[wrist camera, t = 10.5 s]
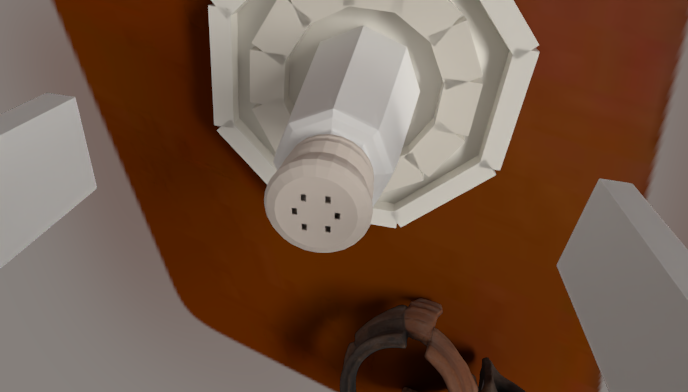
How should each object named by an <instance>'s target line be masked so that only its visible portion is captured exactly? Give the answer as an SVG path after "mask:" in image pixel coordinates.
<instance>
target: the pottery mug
mask: <svg viewBox="0 0 688 392" xmlns="http://www.w3.org/2000/svg"><path fill="white" fill-rule="evenodd" d="M442 313H443V311H442V306H441V305H440V304H438V303H436V302H433V301H430V300H427V299H423V298H419V299H417V300H415V301H411V303H410V305H409V307H407V306H405V305H398V306H396V307H394V308H392V309H389V310H387V311H385V312H383V313H381V314H379V315H378V316H376V317H374V318H373V319H371V320H370V321H368V322H367V323H366V324H365V325H364V326H363V327H361V328H360V329H359V330H358V331H357V332H356V334H355V341H354V342H352V343H350V344H349V346H348V349H347V351H346V354H345V359H344V365H343V370H342V373H341V378H340V392H356V375H357V371H358V368H359V366H360V364H361V363H362V362H363V360H364V359H365V358H367V357H368V356H369V355H370V354H372V353H373V352H375V351H377V350H380V349H385V348H406V345H407V338H408V337H410V338H412V339H415V340H418V341H420V342H422V343H423V344H424V345H426V346H427V349H426V352H425V359H427V360H428V361H429V362H430V363H431V364H432V365H433V367H434V368H435V369H436V370H437V371H438V372H439V373H440V375H441V376H442V378H443V380H444V382H445V384H446V386H447V389H448V392H525V391H524V390H523V389H521V388H520V387H519V386H517V385H516V384H514V383H513V382H511V381H509V380H508V379H506V378H505V377H503V376H502V375H501V374H500V373H499V372H498V371H497V370H496V368H495V367H494V365H493V364H492V362H491V361H490V360H489V358H483V359H482V368H481V371H480V380H479V387H478V386H477V382H476V377H475V376H474V375H473V374H471V372H470V370H469V367H468V365H467V364H466V362H465V361H464V360H463V358H462V357H461V355H460V354H459V353H458V351H457V349H456V348H455V346H454V345H453V344H452V343H451V341H450V340H449V339H448V338H447V337H446V336H445V335H444V334H443V333H442V332H440V331H439V330H438V329H436V328H435V324H436V321H437V318H438V317H439V316H440V315H441V314H442ZM402 392H417V391H415V390H412V389H410V388H408V387H404V388H403V390H402Z"/></svg>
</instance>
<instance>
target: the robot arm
mask: <svg viewBox="0 0 688 392" xmlns="http://www.w3.org/2000/svg"><path fill="white" fill-rule="evenodd" d="M96 188H97V185H96V181H95V177H94V173H93V168H92V165H91V160H90V156H89V152H88V148H87V143H86V140H85V135H84V131H83V127H82V123H81V118H80V114H79V110H78V106H77V102H76V98H75V97H72V96H66V95H59V94H52V93H45V94H43V95H41V96H39V97H36V98H34V99H32V100H30V101H28V102H25V103H24V104H21V105H19V106H17V107H15V108H12V109H10V110H8V111H6V112H4V113H1V114H0V269H1V268H2V267H3V266H4V265H5V264H6V263H8V262H9V261H10V260H11V259H13V258H14V257H15V256H16V255H17V254H19V253H20V252H21V251H22V250H23V249H25V248H26V247H27V246H28V245H29V244H31V243H32V242H33V241H34V240H35V239H37V238H38V237H39V236H40V235H41V234H42V233H44V232H45V231H46V230H47V229H49V228H50V227H51V226H52V225H53V224H55V223H56V222H57V221H58V220H59V219H60V218H62V217H63V216H64V215H66V214H67V213H68V212H69V211H70V210H71V209H72V208H74V207H75V206H76V205H78V204H79V203H80V202H81V201H82V200H83V199H85V198H86V197H87V196H88V195H89V194H91V193H92V192H93V191H94V190H96ZM557 268H558V270H559V273H560V275H561V277H562V280H563V282H564V285H565V287H566V289H567V292H568V294H569V297H570V299H571V301H572V304H573V306H574V309H575V311H576V313H577V316H578V318H579V321H580V323H581V326H582V328H583V330H584V333H585V335H586V338H587V340H588V342H589V345H590V347H591V350H592V352H593V354H594V357H595V359H596V362H597V364H598V367H599V369H600V371H601V374H602V376H603V379H604V381H605V383H606V386H607V388H608V390H609V392H688V250H687V248H686V247H685V246H684V245H683V244H682V242H681V241H680V240H679V239H678V238H677V236H676V235H675V234H674V233H673V232H672V230H671V229H670V228H669V227H668V226H667V224H666V223H665V222H664V221H663V220H662V218H661V217H660V216H659V215H658V214H657V213H656V211H655V210H654V209H653V208H652V207H651V205H650V204H649V203H648V202H647V201H646V199H645V198H644V197H643V196H642V195H641V193H640V192H639V191H638V190H637V189H636V187H635V186H634V185H633V184H632V183H625V182H619V181H612V180H606V179H600V178H599V180H598V182H597V184H596V186H595V188H594V190H593V192H592V194H591V196H590V198H589V200H588V202H587V204H586V206H585V209H584V211H583V213H582V215H581V217H580V219H579V221H578V223H577V225H576V227H575V229H574V231H573V233H572V235H571V237H570V239H569V241H568V243H567V245H566V247H565V249H564V251H563V253H562V255H561V257H560V259H559V261H558V264H557Z"/></svg>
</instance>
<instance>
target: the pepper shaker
mask: <svg viewBox="0 0 688 392" xmlns="http://www.w3.org/2000/svg"><path fill="white" fill-rule="evenodd" d="M419 93H420V89H419V86H418V82H417V79H416V76H415V72H414V69H413V66H412V62H411V59H410V56H409V52H408V49H407V47H406V46H404V45H402V44H400V43H398V42H396V41H394V40H392V39H390V38H388V37H386V36H384V35H383V34H381V33H379V32H377V31H375V30H373V29H371V28H369V27H367V26H365V25H363V26H360V27H358V28H355V29H352V30H350V31H347V32H345V33H342V34H339V35H337V36H334V37H331V38H329V39H326V40H324V41H321V42H320V43H319V46H318V48H317V51H316V53H315V56H314V58H313V61H312V63H311V66H310V68H309V71H308V73H307V76H306V78H305V81H304V83H303V85H302V88H301V90H300V93H299V95H298V98H297V100H296V103H295V105H294V108H293V110H292V113H291V116H290V118H289V121H288V123H287V126H286V128H285V131H284V133H283V136H282V138H281V141H280V143H279V146H278V148H277V151H276V154H275V157H274V161H273V163H274V165H275V167H276V169H277V171H276V173H275V174H274V175H273V176H272V177H271V179H270V180H269V182H268V185H267V187H266V190H265V197H264V205H265V210H266V214H267V217H268V219H269V220H270V222H271V224H272V226H273V227H274V229H275V230H276V231H277V232H278V233H279V234H280V235H281V236H282V237H283V238H284V239H286V240H287V241H288V242H290V243H291V244H293V245H295V246H297V247H299V248H301V249H304V250H308V251H312V252H322V253H330V252H335V251H339V250H344V249H346V248H348V247H350V246H352V245H354V244H355V243H357V242H358V241H359V240H360V239H361V238H362V237H363V236H364V235H365V233H366V231H367V230H368V228H369V226H370V223H371V219H372V215H373V207H374V205H375V203H376V202H377V200H378V199H379V197H380V195H381V194H382V192H383V190H384V188H385V187H386V185H387V183H388V182H389V180H390V178H391V176H392V174H393V172H394V170H395V168H396V166H397V163H398V161H399V158H400V154H401V151H402V148H403V145H404V142H405V138H406V135H407V132H408V129H409V125H410V122H411V119H412V116H413V113H414V109H415V106H416V103H417V100H418V97H419Z"/></svg>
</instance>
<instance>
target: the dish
mask: <svg viewBox="0 0 688 392" xmlns="http://www.w3.org/2000/svg"><path fill="white" fill-rule="evenodd" d="M211 1H212V2H213V3H214V4H211V5H208V16H209V36H210V55H211V75H212V94H213V113H214V125H215V126H221V127H219V128H218V129H217V130H216V131H217V132H218V133H219V134H220V135H221V136H222V137H223V138H224V139H225V140H226V141H227V142H228V143H229V144H230V145H231V147H232V148H233V149H234V150H235V151H236V152H237V153H238V154H239V155H240V156H241V157H242V158H243V159H244V160H245V162H246V163H247V164H248V165H249V166H250V167H251V168H252V169H253V170H254V171H255V172H256V173H257V174H258V175H259V176H260V178H261V179H262V180H263V181H264V182H265V183H266V184H267V185H268V182H269V180H270V179H271V177H272V176H273V175H274V174H275V173H276V171H277V169H276V167H275V165H274V163H273V161H274V157H275V154H276V151H277V148H278V146H279V143H280V141H281V138H282V136H283V133H284V131H285V128H286V126H287V123H288V121H289V118H290V116H291V113H292V110H293V108H294V105H295V103H296V100H297V98H298V95H299V93H300V90H301V88H302V85H303V83H304V81H305V78H306V76H307V73H308V71H309V68H310V66H311V63H312V61H313V58H314V56H315V53H316V51H317V48H318V46H319V43H320V42H321V41H324V40H326V39H329V38H331V37H334V36H337V35H339V34H342V33H345V32H347V31H350V30H352V29H355V28H358V27H360V26H363V25H365V26H367V27H369V28H371V29H373V30H375V31H377V32H379V33H381V34H383V35H384V36H386V37H388V38H390V39H392V40H394V41H396V42H398V43H400V44H402V45H404V46H406V47H407V49H408V52H409V56H410V59H411V62H412V66H413V69H414V72H415V76H416V79H417V82H418V86H419V89H420V93H419V97H418V100H417V103H416V106H415V109H414V113H413V116H412V119H411V122H410V125H409V129H408V132H407V135H406V138H405V142H404V145H403V148H402V151H401V154H400V158H399V161H398V163H397V166H396V168H395V170H394V172H393V174H392V176H391V178H390V180H389V182H388V183H387V185H386V187H385V188H384V190H383V192H382V194H381V195H380V197H379V199H378V200H377V202H376V203H375V205H374V207H373V215H372V219H371V223H370V224H374V225H380V226H386V227H391V228H396V225H397V223H398V225H399V226H400V227H403V226H404V225H406V224H408V223H410V222H412V221H413V220H415V219H417V218H419V217H421V216H422V215H424V214H426V213H428V212H430V211H432V210H433V209H435V208H437V207H439V206H441V205H442V204H444V203H446V202H448V201H450V200H452V199H453V198H455V197H457V196H459V195H461V194H462V193H464V192H466V191H468V190H470V189H471V188H473V187H475V186H477V185H479V184H481V183H482V182H484V181H486V180H488V179H490V178H491V177H493V176H495V175H496V173H495V170H500V169H501V166H502V163H503V160H504V157H505V154H506V151H507V148H508V145H509V142H510V139H511V136H512V133H513V130H514V127H515V124H516V121H517V118H518V115H519V112H520V109H521V106H522V103H523V100H524V97H525V94H526V91H527V88H528V85H529V82H530V79H531V76H532V73H533V70H534V67H535V64H536V61H537V58H538V55H539V51H538V50H537V49H536V48H535V47H537V46H539V44H538V42H537V40H536V39H535V37H534V35H533V33H532V32H531V30H530V28H529V26H528V25H527V23H526V21H525V19H524V18H523V16H522V14H521V13H520V11H519V9H518V7H517V6H516V4H515V2H514V0H211Z"/></svg>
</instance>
